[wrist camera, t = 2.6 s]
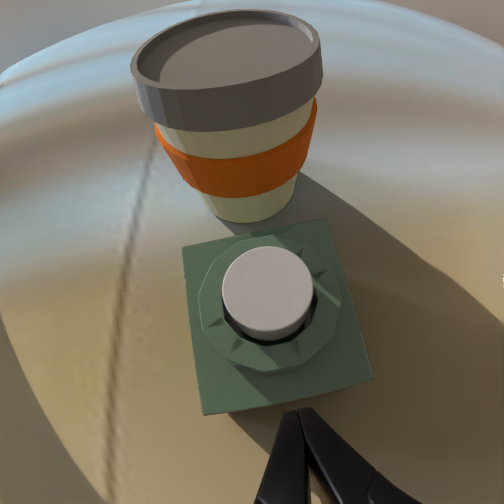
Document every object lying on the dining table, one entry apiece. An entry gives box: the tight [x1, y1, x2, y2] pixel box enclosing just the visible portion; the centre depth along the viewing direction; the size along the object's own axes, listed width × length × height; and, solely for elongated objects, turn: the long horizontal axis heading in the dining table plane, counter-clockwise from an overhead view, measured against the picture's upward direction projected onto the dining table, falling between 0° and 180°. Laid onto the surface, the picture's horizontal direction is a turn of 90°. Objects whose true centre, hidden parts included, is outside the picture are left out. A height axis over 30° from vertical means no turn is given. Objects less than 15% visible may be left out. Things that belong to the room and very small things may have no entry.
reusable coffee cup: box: [130, 9, 323, 223], centre depth 24 cm, size 13×12×15 cm
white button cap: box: [222, 246, 313, 341], centre depth 15 cm, size 4×4×2 cm
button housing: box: [182, 218, 373, 416], centre depth 19 cm, size 10×9×9 cm
